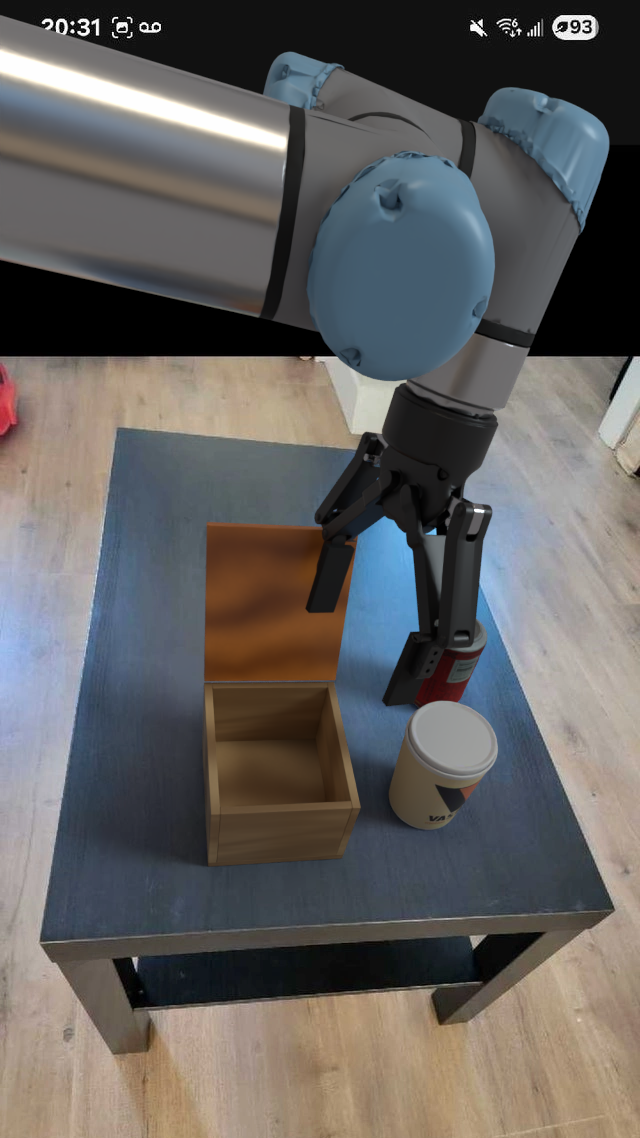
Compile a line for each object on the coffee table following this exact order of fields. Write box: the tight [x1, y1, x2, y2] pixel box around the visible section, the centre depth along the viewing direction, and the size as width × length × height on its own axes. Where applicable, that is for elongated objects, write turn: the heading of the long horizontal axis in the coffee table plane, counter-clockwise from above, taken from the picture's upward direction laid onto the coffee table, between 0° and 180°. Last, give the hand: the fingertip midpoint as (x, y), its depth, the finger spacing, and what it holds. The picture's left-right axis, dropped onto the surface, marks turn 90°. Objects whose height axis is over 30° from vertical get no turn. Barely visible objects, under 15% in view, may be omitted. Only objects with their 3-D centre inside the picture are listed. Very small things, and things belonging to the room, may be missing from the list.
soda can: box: [413, 618, 488, 709], centre depth 82 cm, size 7×7×12 cm
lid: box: [203, 521, 359, 682], centre depth 66 cm, size 16×14×1 cm
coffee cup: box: [388, 701, 499, 831], centre depth 72 cm, size 9×9×12 cm
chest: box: [201, 681, 362, 867], centre depth 70 cm, size 16×14×10 cm
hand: (355, 653), depth 59 cm, fingers open, 13 cm apart
